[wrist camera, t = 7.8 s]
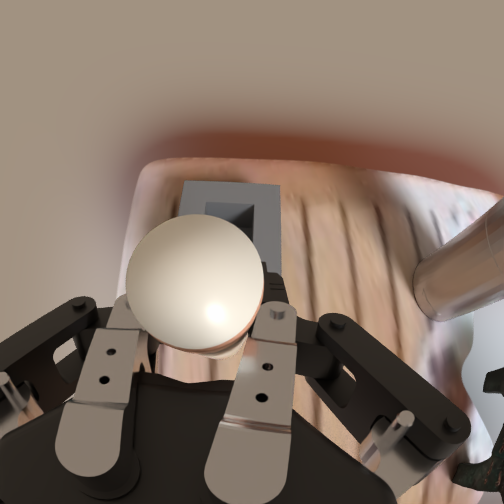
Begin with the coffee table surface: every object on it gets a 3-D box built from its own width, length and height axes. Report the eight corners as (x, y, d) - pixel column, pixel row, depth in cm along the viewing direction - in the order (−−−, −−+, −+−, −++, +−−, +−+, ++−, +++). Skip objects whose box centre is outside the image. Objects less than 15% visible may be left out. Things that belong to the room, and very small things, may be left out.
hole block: (191, 209, 34) (184, 180, 29) (272, 214, 34) (279, 185, 29) (180, 289, 30) (169, 270, 25) (272, 294, 31) (281, 277, 25)
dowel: (228, 300, 18) (219, 192, 7) (255, 343, 17) (294, 300, 6) (184, 325, 17) (105, 252, 6) (210, 369, 16) (163, 377, 5)
